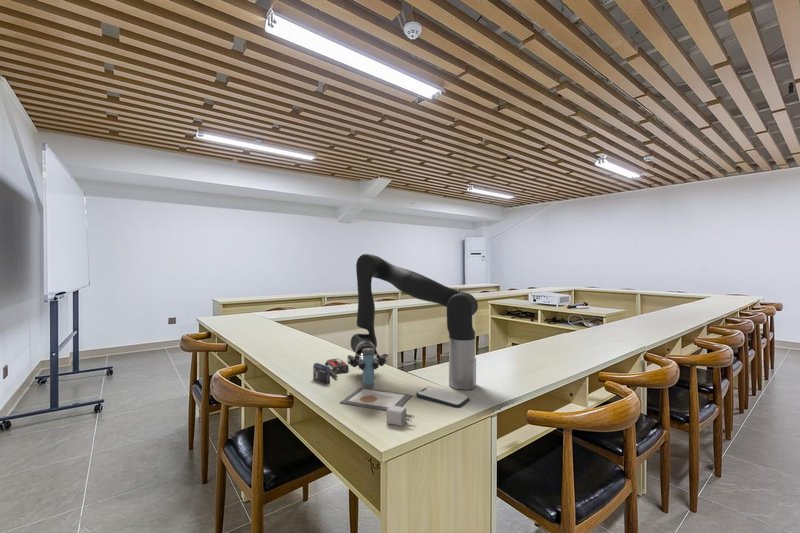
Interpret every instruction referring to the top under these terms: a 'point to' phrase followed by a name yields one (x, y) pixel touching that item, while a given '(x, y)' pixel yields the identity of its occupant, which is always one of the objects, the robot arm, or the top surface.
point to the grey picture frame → (376, 399)
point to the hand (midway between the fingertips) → (369, 366)
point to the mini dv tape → (321, 373)
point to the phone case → (443, 397)
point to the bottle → (368, 368)
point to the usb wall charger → (397, 415)
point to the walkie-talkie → (337, 366)
